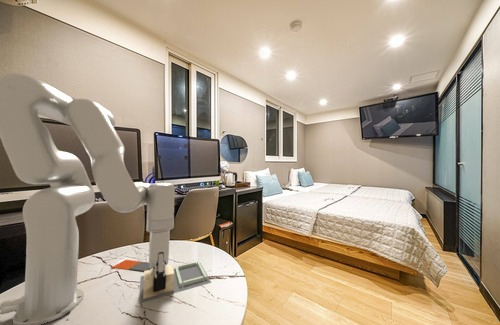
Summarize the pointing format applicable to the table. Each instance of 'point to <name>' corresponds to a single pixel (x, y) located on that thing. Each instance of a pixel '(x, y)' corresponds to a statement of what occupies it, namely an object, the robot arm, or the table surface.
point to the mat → (182, 279)
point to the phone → (132, 266)
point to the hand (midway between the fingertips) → (158, 283)
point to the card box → (148, 282)
